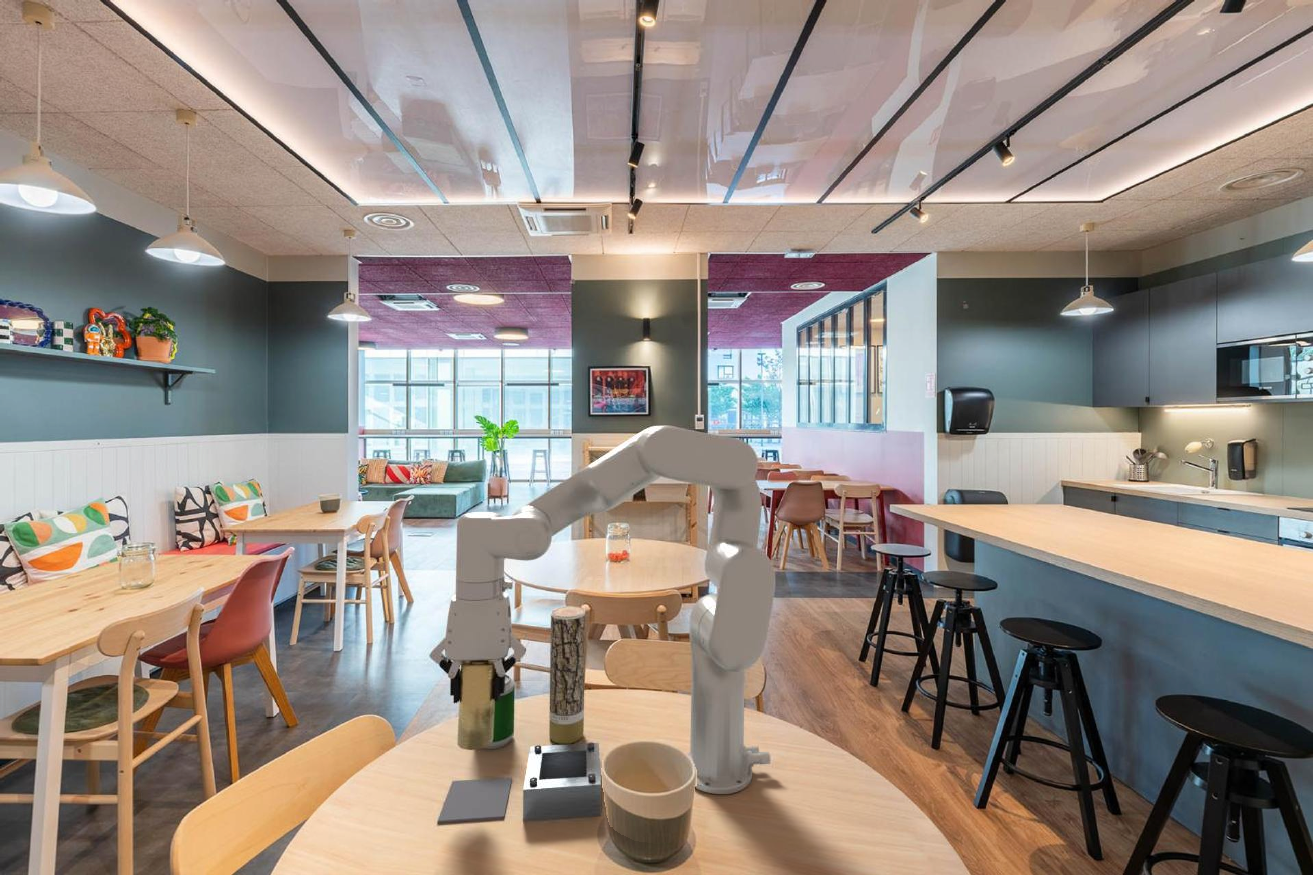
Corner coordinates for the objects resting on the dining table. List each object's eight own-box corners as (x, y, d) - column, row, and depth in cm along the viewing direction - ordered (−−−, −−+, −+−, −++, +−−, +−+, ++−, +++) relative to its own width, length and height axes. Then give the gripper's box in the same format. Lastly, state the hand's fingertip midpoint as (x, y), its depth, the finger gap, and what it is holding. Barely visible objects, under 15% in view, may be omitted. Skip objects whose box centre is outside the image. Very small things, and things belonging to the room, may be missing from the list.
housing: (598, 770, 100) (598, 739, 100) (600, 815, 88) (600, 780, 88) (530, 774, 99) (530, 743, 99) (522, 821, 87) (523, 785, 87)
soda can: (522, 737, 111) (523, 677, 111) (492, 755, 104) (493, 691, 104) (496, 726, 115) (496, 668, 115) (465, 743, 108) (466, 681, 108)
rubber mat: (512, 779, 97) (512, 777, 97) (504, 818, 87) (504, 815, 87) (452, 783, 96) (452, 780, 96) (437, 823, 86) (437, 820, 86)
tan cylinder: (495, 730, 95) (499, 652, 95) (490, 749, 89) (494, 665, 89) (461, 731, 94) (465, 652, 94) (453, 750, 88) (457, 665, 88)
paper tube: (576, 747, 107) (578, 618, 107) (543, 743, 109) (545, 615, 108) (588, 729, 114) (589, 607, 114) (556, 725, 115) (558, 605, 115)
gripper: (535, 581, 96) (533, 686, 96) (431, 583, 94) (429, 690, 94) (531, 594, 89) (529, 707, 89) (418, 595, 87) (416, 712, 87)
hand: (477, 697), depth 91 cm, fingers closed on tan cylinder, 5 cm apart
